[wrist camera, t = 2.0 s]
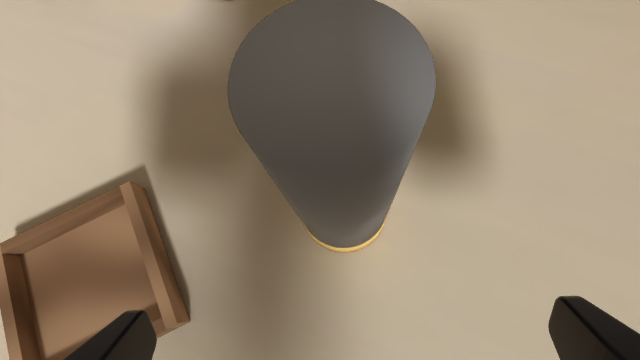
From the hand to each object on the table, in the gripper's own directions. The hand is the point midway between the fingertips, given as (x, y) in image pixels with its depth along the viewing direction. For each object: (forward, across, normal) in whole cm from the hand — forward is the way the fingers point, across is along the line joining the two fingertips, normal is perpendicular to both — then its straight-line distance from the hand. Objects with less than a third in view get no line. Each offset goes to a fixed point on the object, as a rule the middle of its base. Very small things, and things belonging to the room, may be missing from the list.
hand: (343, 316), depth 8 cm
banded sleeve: (+11, 0, +4) cm, 12 cm away
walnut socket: (+9, +14, +7) cm, 18 cm away
